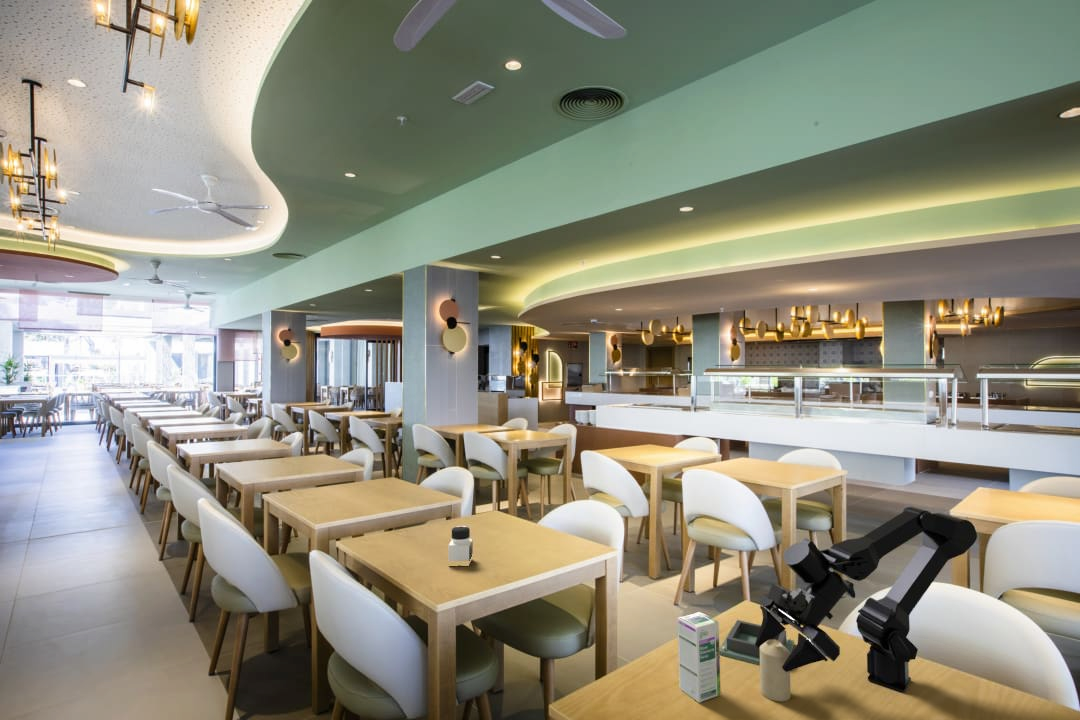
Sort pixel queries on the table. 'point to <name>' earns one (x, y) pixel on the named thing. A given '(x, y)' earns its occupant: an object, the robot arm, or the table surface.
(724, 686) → the table surface
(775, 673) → the candle
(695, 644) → the syrup box
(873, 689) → the table surface
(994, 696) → the table surface
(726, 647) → the header socket
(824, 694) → the table surface
